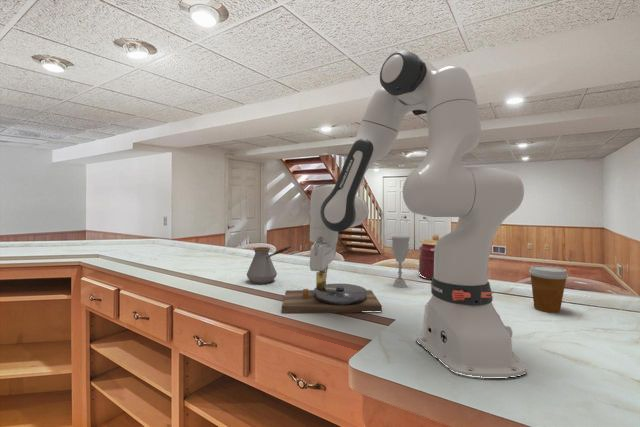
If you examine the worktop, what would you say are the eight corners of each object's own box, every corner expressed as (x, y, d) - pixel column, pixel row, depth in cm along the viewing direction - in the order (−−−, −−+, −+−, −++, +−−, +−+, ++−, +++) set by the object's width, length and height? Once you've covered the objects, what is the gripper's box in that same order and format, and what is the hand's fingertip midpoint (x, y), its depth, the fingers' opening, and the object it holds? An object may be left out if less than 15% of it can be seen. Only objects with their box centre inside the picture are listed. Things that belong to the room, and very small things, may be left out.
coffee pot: (240, 281, 129) (240, 242, 128) (263, 276, 138) (263, 240, 137) (279, 291, 115) (279, 248, 115) (301, 285, 124) (302, 244, 124)
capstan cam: (369, 291, 108) (370, 270, 107) (362, 307, 92) (362, 282, 92) (321, 287, 112) (321, 267, 112) (307, 302, 96) (307, 278, 96)
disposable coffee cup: (520, 306, 101) (521, 266, 100) (542, 302, 104) (543, 264, 103) (551, 316, 92) (553, 273, 91) (575, 312, 95) (576, 270, 95)
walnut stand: (381, 312, 94) (381, 297, 94) (281, 313, 94) (281, 297, 93) (371, 295, 110) (371, 282, 110) (286, 296, 110) (286, 283, 109)
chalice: (409, 288, 120) (410, 238, 119) (390, 287, 121) (391, 238, 120) (408, 283, 127) (409, 236, 126) (390, 282, 128) (391, 235, 127)
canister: (412, 277, 137) (413, 234, 136) (427, 272, 146) (428, 232, 146) (443, 282, 128) (444, 236, 127) (457, 277, 137) (458, 234, 137)
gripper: (326, 240, 95) (325, 288, 96) (339, 232, 115) (339, 272, 115) (304, 239, 96) (304, 287, 97) (321, 232, 116) (321, 271, 117)
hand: (323, 279), depth 106 cm, fingers closed
